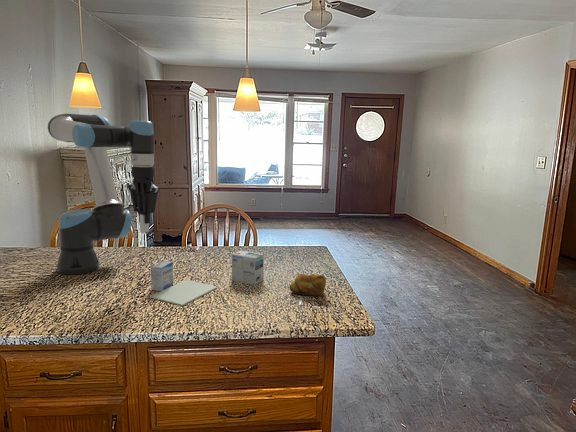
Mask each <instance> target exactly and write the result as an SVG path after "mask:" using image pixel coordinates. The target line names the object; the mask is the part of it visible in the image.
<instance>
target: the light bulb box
mask: <svg viewBox="0 0 576 432" xmlns="http://www.w3.org/2000/svg"><path fill="white" fill-rule="evenodd" d="M264 258H265V256H264V253H259V252H251V251H246V250H238V251H236V252H233V253H231V281H233V282H238V283H242V284H247V285H252V286H257V285H258V284H260V283H261V282H263V281H264V269H265V268H264Z"/></svg>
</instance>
